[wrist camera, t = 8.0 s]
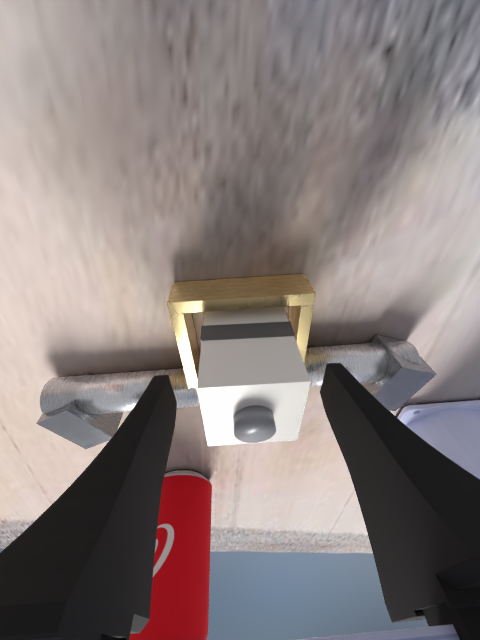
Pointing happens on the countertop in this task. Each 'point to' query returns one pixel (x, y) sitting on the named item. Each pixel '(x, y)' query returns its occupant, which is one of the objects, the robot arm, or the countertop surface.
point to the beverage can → (181, 560)
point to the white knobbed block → (250, 377)
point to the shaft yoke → (185, 298)
